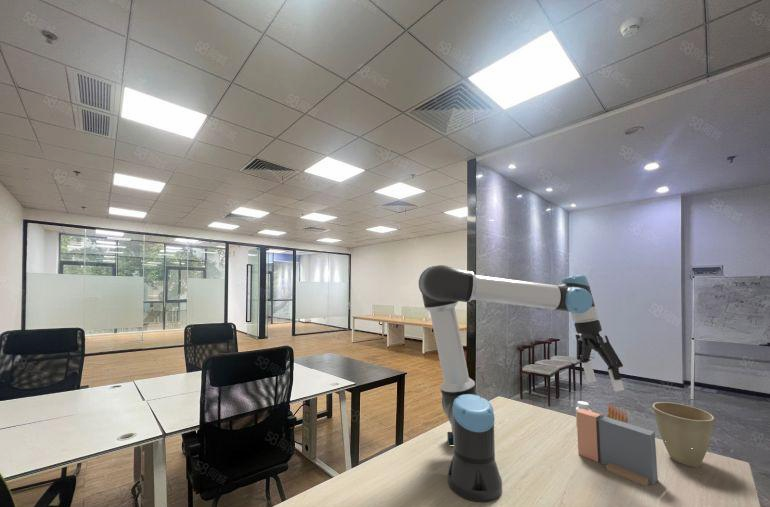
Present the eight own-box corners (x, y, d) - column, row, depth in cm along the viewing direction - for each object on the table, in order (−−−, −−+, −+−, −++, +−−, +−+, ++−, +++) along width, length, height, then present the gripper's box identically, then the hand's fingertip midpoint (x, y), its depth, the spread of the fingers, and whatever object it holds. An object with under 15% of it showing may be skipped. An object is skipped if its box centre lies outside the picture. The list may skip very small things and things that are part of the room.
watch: (461, 438, 121) (461, 408, 122) (465, 449, 113) (465, 417, 114) (446, 437, 122) (446, 407, 122) (449, 449, 114) (448, 416, 114)
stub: (578, 454, 110) (576, 411, 111) (583, 450, 112) (581, 408, 113) (598, 462, 105) (595, 417, 106) (603, 458, 107) (601, 414, 108)
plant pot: (646, 455, 109) (643, 406, 111) (668, 445, 116) (665, 399, 117) (705, 479, 96) (701, 424, 97) (726, 466, 103) (722, 414, 104)
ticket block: (595, 466, 103) (593, 420, 104) (607, 457, 108) (605, 413, 109) (650, 489, 92) (647, 437, 93) (660, 477, 97) (657, 428, 98)
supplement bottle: (594, 431, 126) (593, 405, 127) (579, 430, 127) (578, 404, 128) (588, 425, 132) (587, 400, 133) (574, 424, 133) (573, 399, 133)
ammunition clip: (631, 448, 114) (629, 413, 115) (626, 448, 114) (624, 413, 115) (611, 434, 124) (610, 402, 125) (606, 434, 124) (605, 401, 125)
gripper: (622, 318, 98) (645, 392, 94) (576, 318, 122) (592, 377, 118) (598, 323, 98) (620, 397, 93) (556, 321, 122) (572, 380, 118)
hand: (604, 386), depth 106 cm, fingers open, 13 cm apart
